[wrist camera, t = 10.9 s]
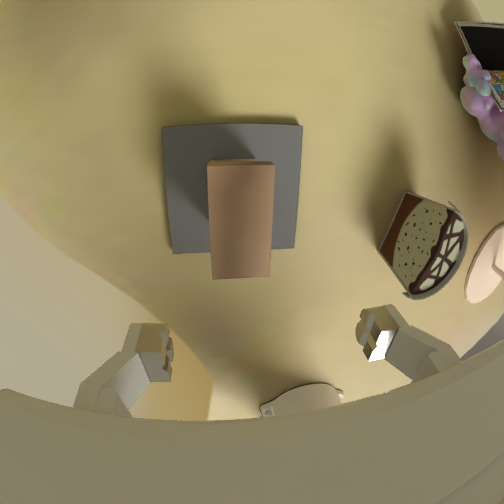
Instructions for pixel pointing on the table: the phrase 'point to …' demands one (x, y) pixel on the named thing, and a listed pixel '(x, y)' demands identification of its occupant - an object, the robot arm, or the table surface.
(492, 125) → the pastel lumpy piece
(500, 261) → the orange pedestal table
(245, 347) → the table surface
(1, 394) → the robot arm
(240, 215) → the tall wooden block
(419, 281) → the half chocolate cake
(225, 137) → the mat
